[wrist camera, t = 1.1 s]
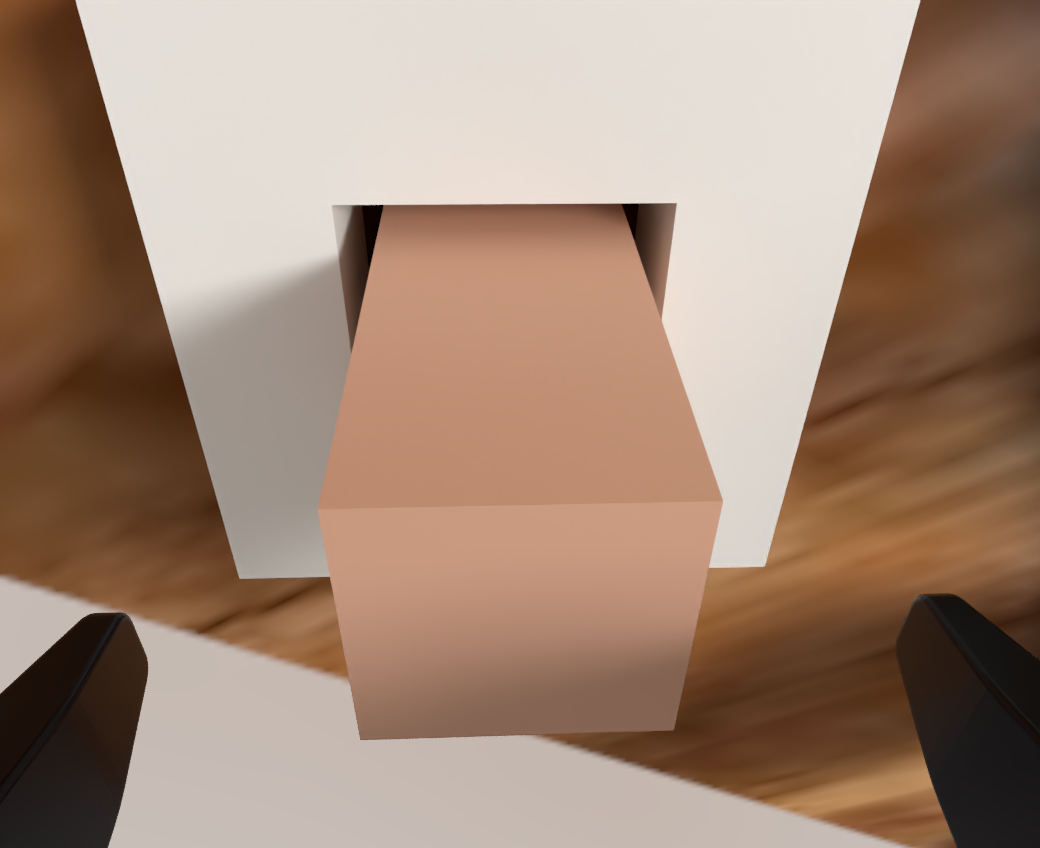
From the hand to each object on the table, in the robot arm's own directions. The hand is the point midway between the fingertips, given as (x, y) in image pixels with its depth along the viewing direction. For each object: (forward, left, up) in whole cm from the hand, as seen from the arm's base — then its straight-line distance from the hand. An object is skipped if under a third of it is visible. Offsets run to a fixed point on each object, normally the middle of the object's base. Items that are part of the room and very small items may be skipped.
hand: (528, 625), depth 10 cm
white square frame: (0, 0, -9) cm, 9 cm away
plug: (0, 0, -9) cm, 9 cm away
